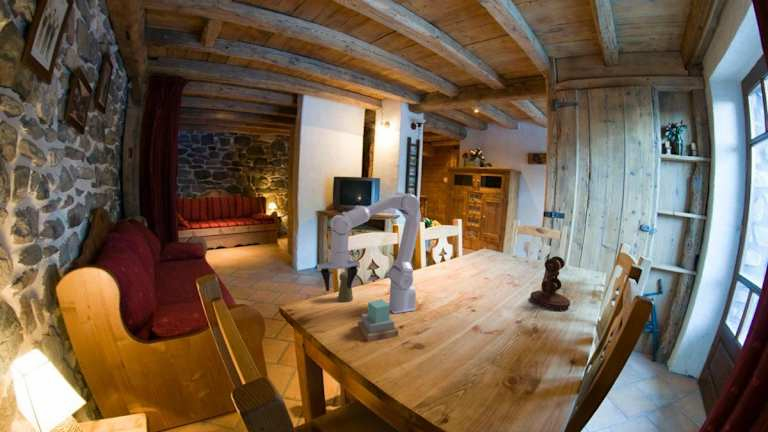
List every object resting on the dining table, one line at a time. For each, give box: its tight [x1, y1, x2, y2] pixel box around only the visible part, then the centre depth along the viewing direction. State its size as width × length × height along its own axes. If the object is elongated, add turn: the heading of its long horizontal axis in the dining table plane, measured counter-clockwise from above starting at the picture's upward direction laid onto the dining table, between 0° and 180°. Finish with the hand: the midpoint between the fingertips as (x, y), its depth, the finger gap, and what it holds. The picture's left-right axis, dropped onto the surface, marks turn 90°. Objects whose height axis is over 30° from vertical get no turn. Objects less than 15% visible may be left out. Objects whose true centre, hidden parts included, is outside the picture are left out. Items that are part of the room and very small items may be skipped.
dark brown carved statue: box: [530, 255, 571, 312], centre depth 126 cm, size 15×15×20 cm
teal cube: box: [367, 299, 391, 323], centre depth 97 cm, size 5×5×5 cm
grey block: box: [361, 313, 395, 333], centre depth 98 cm, size 8×8×2 cm
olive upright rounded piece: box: [337, 271, 354, 303], centre depth 121 cm, size 6×6×11 cm
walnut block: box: [357, 320, 399, 342], centre depth 98 cm, size 10×10×2 cm
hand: (338, 288), depth 104 cm, fingers open, 7 cm apart
